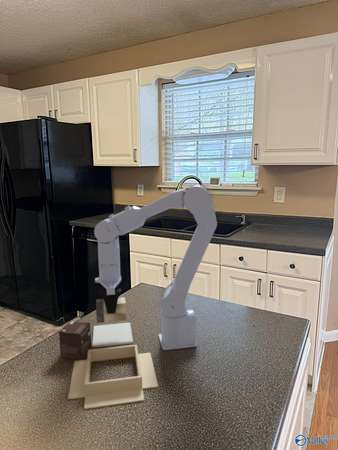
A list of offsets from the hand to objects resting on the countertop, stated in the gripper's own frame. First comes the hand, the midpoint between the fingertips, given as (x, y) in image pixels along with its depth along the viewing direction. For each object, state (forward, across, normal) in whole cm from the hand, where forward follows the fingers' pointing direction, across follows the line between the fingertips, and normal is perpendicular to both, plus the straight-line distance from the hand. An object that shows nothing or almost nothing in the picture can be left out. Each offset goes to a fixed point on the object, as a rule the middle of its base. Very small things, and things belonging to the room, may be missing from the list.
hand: (111, 309), depth 89 cm
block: (+3, 0, 0) cm, 3 cm away
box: (+9, +5, -10) cm, 14 cm away
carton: (+9, +16, 0) cm, 18 cm away
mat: (+9, -2, 0) cm, 9 cm away
